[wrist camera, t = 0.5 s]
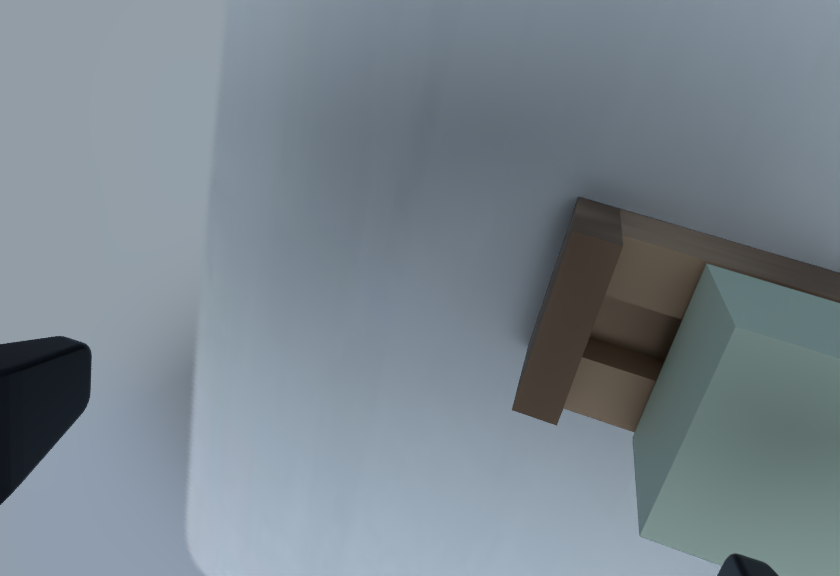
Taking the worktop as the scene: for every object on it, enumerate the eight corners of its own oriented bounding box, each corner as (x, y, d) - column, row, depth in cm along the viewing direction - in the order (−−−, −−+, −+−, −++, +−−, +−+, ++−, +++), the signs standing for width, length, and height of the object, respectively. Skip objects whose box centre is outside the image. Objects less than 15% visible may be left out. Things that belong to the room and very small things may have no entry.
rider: (859, 292, 17) (968, 398, 12) (774, 456, 19) (836, 607, 14) (698, 245, 18) (736, 326, 13) (630, 408, 20) (639, 536, 14)
